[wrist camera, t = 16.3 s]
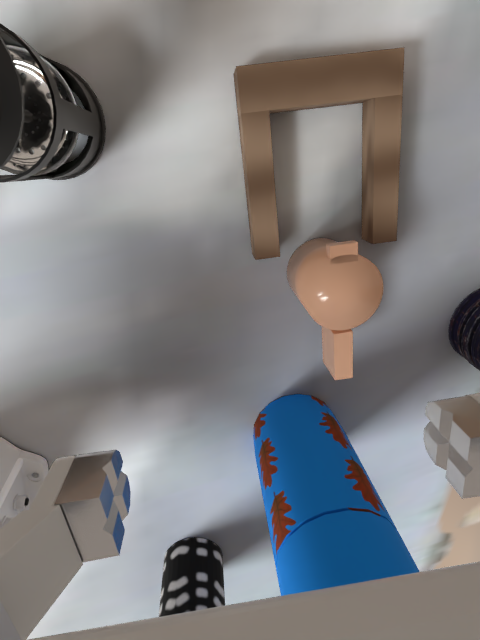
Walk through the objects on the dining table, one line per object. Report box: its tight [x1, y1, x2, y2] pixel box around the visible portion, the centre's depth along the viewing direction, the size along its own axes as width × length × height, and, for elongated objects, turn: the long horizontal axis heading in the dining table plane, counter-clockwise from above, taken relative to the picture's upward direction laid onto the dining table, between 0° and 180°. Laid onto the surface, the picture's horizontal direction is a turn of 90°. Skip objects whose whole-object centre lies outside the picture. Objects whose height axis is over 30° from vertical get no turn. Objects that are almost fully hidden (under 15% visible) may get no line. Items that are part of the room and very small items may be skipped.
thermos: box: [253, 394, 419, 596], centre depth 37 cm, size 11×11×25 cm
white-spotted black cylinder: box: [159, 538, 225, 617], centre depth 46 cm, size 8×8×20 cm
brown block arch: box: [234, 48, 404, 260], centre depth 36 cm, size 16×14×3 cm
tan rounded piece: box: [287, 238, 383, 380], centre depth 38 cm, size 13×7×8 cm, turn 7°
